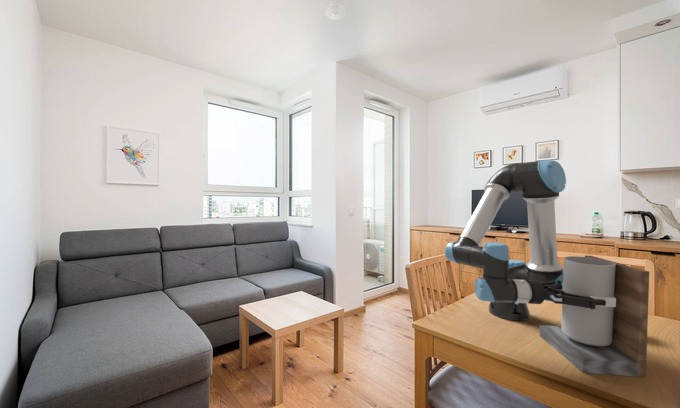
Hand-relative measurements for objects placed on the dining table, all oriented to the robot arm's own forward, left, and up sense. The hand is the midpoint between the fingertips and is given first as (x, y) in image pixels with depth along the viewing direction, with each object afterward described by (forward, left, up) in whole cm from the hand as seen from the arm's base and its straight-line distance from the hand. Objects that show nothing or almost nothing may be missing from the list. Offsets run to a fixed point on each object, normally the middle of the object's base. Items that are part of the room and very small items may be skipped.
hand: (598, 294), depth 92 cm
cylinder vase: (-3, -2, -14) cm, 15 cm away
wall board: (-2, -2, -19) cm, 20 cm away
